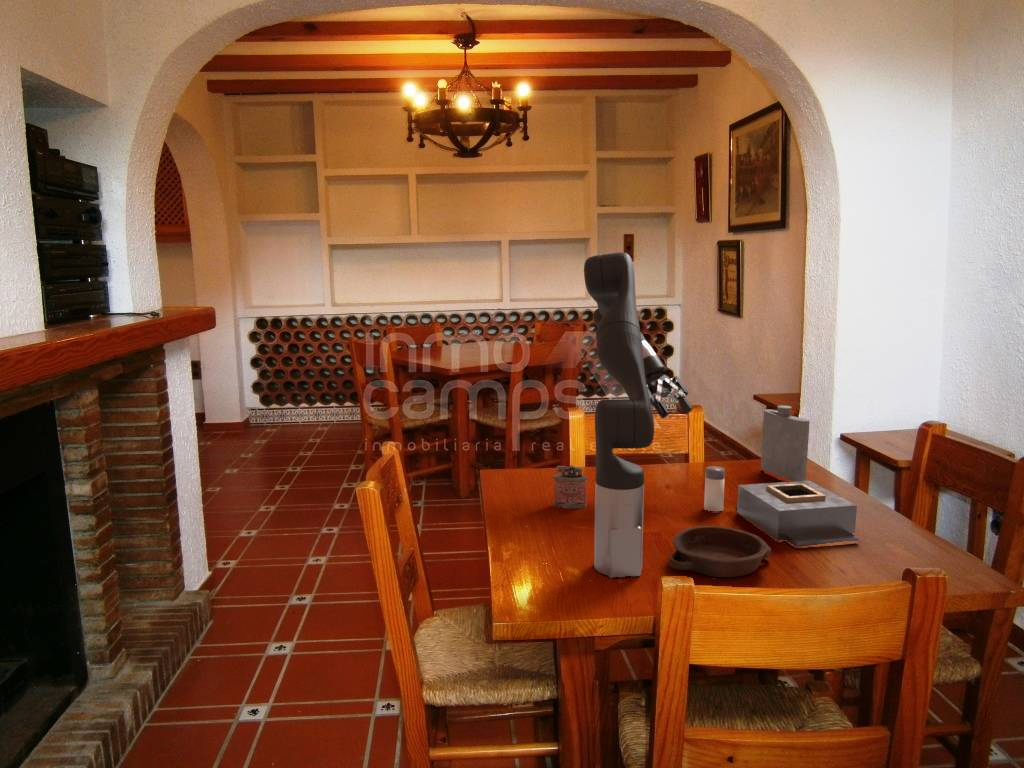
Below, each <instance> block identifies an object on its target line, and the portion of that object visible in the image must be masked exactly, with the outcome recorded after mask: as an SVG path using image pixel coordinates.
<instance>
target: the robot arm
mask: <svg viewBox="0 0 1024 768" xmlns="http://www.w3.org/2000/svg"><path fill="white" fill-rule="evenodd" d="M583 275H584V284H585V288H586V290H587V293H588V294H589V296H590V297H591V298H592V299H593V300H594V301H595V302H596V304H597V308H596V309H595V310H594V312H593V314H592V319H593V320H592V321H593V322H594V325H595V326H596V331H595V340H596V342H595V343H596V354H597V358H598V360H599V362H600V364H601V365H602V367H603V368H604V369H605V371H607V373H608V374H609V375H610V376H611V377H612V378H613V379H614V380H615V381H616V382H617V383H618V384H619V385H620V386H621V387H622V389H623V390H624V391H625V393H626V395H627V397H628V399H626V398H625V399H623V398H622V399H621V398H620V399H617V398H616V399H615V398H614V399H601V400H599V401H598V402H597V404H596V405H595V406H596V407H595V409H594V410H595V411H594V434H595V476H594V477H595V479H594V480H595V482H594V485H595V486H594V487H595V492H594V493H595V495H594V543H593V544H594V545H593V546H594V549H593V550H594V551H593V552H594V554H593V555H594V557H593V558H594V559H593V562H594V564H593V567H594V569H595V570H596V571H597V572H598V573H600V574H602V575H604V574H605V575H604V576H607V575H608V577H610V578H609V579H616V578H615V577H619V578H626V577H625V576H631V577H640V575H641V576H642V570H643V545H644V544H643V543H644V542H643V539H644V538H643V537H644V503H645V502H644V500H645V499H644V498H645V496H644V495H645V471H644V469H643V467H642V466H640V465H638V464H636V463H633V462H631V461H628V460H625V459H624V458H621V457H619V456H617V455H616V454H615V453H614V452H613V451H614V449H629V450H630V449H635V450H637V449H644V448H648V447H650V446H651V445H652V443H653V440H654V437H655V420H654V412H653V408H654V409H655V411H656V413H657V414H658V416H659V417H661V419H666V418H667V417H668V416H669V415H670V413H669V410H668V408H666V406H665V404H664V403H663V401H661V398H662V397H668V398H669V399H673V400H675V401H676V402H677V404H678V405H679V407H680V409H681V410H682V411H683V413H684V414H685V415H687V414H690V412H692V411H693V408H692V405H691V404H690V402H689V401H688V400H687V398H686V397H687V396H688V395H689V394H690V391H689V390H688V389H687V387H686V385H684V383H683V381H682V380H681V378H679V376H678V375H676V374H675V375H674V376H673V377H671V378H670V377H669V376H668V375H667V373H666V371H667V368H666V367H665V365H664V364H663V363H664V362H662V360H661V359H660V357H659V356H658V354H657V353H656V352H655V350H654V348H653V347H652V346H651V344H650V343H649V342H648V341H647V339H646V338H645V336H644V335H643V333H642V332H641V328H640V322H639V316H638V310H637V301H636V300H637V298H636V280H635V279H636V278H635V277H636V276H635V267H634V262H633V259H632V257H631V256H630V254H628V253H627V252H623V251H622V252H620V251H618V252H613V253H603V254H597V255H593V256H589V257H588V258H586V260H585V262H584V265H583ZM652 407H653V408H652ZM613 577H614V578H613Z"/></svg>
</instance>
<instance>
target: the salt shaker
mask: <svg viewBox="0 0 1024 768" xmlns="http://www.w3.org/2000/svg"><path fill="white" fill-rule="evenodd" d="M725 474H726V468H724V467H722V466H715V465H711V466H707V467H705V477H704V480H705V481H704V482H705V483H704V501H703V502H704V505H703V510H705V511H706V510H708V511H707V512H709V511H716V512H715V513H718V512H717V511H722V510H723V511H724V503H725V502H724V499H725V497H724V496H725V481H726V480H725V479H726V478H725V477H726V475H725ZM723 511H722V512H723Z"/></svg>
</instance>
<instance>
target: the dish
mask: <svg viewBox="0 0 1024 768" xmlns="http://www.w3.org/2000/svg"><path fill="white" fill-rule="evenodd" d="M672 545H673V547H674V548H675V550H676V551H675V552H673V553H672V554H671V555H670V556H669V566H670V567H671V568H672V569H674V570H678V571H693V572H695V573H699V574H700V575H701V574H702V575H705V576H708V577H709V576H710V577H715V578H716V577H717V578H735V577H743V576H747V575H749V574H752V573H754V572H755V571H757V570H758V568H760V565H761V562H762V560H765V559H768V558H769V557H771V552H772V548H771V547H770V546H769V545H768V544H767V543H766V541H764V539H762V538H761V537H760V536H758V535H757V534H753V533H751V532H748V531H744V530H742V529H736V528H731V527H726V526H716V525H715V526H712V525H711V526H710V525H709V526H707V525H706V526H705V525H703V526H700V525H699V526H693V527H689V528H685V529H682V530H680V531H679V532H676V534H675V535H674V536H673V539H672Z"/></svg>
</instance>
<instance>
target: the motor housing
mask: <svg viewBox="0 0 1024 768" xmlns="http://www.w3.org/2000/svg"><path fill="white" fill-rule="evenodd" d="M737 490H738V491H737V501H736V503H737V504H736V509H737V510H736V512H738V513H739V514H740V515H742V516H743V517H745V518H746V519H748V520H749V521H750V522H752V523H753V524H754V525H756V526H757V527H759V528H760V529H762V530H763V531H764V532H766V533H767V534H769V535H770V536H772V537H773V538H774V539H776V540H777V541H780V540H787V541H788V542H790V543H791V544H793V545H794V546H796V547H802V546H809V545H817V544H826V543H834V542H843V541H858V542H859V537H858V536H857V535H853V534H852V533H856V522H857V521H856V520H857V510H858V509H857V508H858V505H857V504H855V503H853V502H851V501H850V500H847V499H845V498H843V497H842V496H840V495H837V494H836V493H834V492H832V491H831V490H828V489H826V488H824V487H822V486H820V485H818V484H817V483H815V482H813V481H810V480H806V481H795V482H783V481H780V482H766V483H765V482H764V483H752V484H751V483H750V484H738V489H737ZM740 515H739V516H740ZM754 525H753V526H754Z"/></svg>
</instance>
